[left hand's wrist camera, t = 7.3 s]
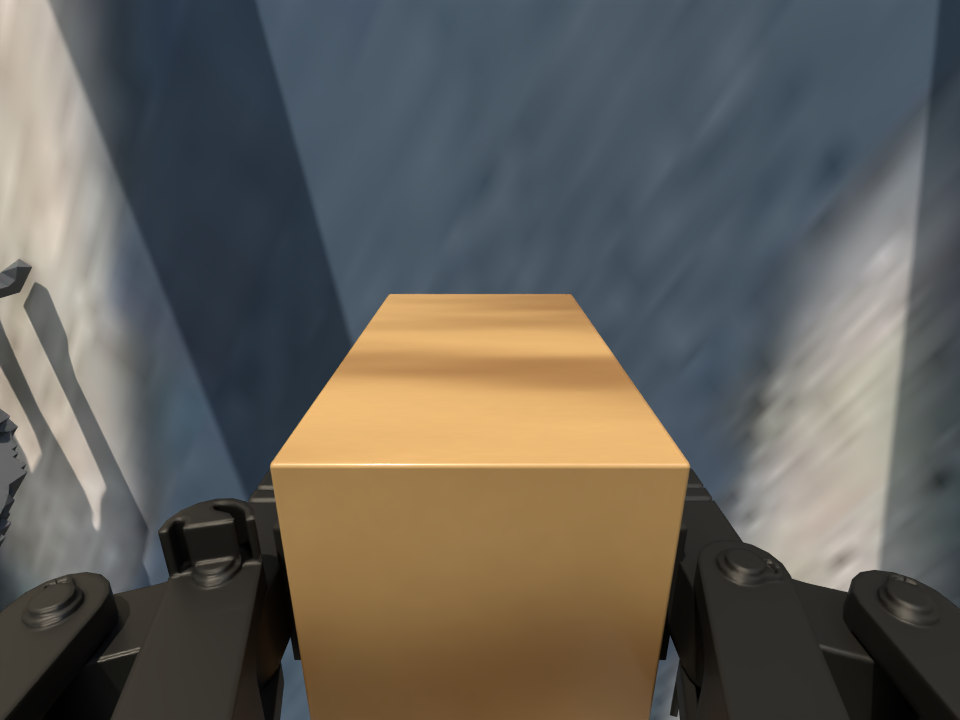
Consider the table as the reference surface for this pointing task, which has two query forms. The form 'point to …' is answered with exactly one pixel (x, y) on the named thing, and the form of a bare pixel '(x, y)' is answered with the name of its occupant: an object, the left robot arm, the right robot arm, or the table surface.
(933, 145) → the table surface
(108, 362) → the table surface
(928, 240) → the table surface
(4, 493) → the toy
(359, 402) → the bar
